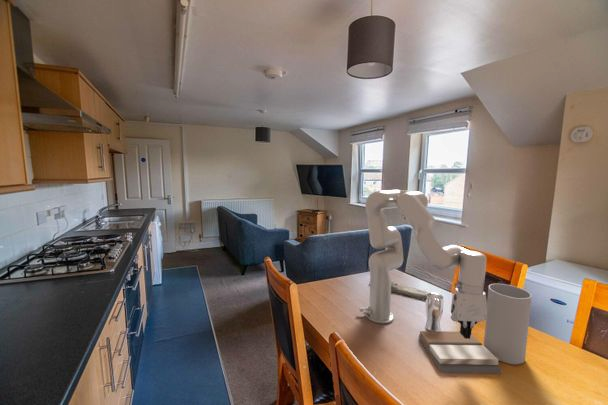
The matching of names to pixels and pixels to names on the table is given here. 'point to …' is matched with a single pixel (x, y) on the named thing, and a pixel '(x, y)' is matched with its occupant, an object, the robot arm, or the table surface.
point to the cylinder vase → (507, 322)
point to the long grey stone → (408, 291)
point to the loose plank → (463, 354)
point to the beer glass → (434, 311)
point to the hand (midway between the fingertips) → (465, 336)
